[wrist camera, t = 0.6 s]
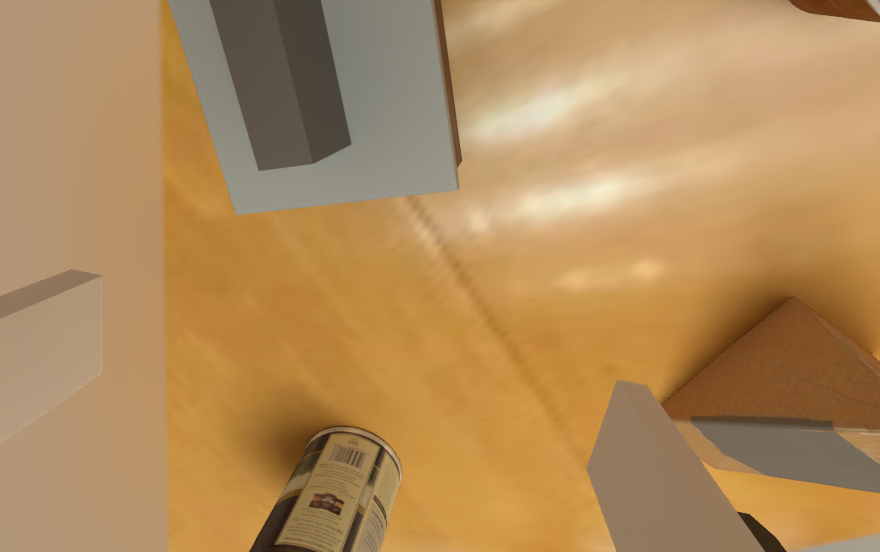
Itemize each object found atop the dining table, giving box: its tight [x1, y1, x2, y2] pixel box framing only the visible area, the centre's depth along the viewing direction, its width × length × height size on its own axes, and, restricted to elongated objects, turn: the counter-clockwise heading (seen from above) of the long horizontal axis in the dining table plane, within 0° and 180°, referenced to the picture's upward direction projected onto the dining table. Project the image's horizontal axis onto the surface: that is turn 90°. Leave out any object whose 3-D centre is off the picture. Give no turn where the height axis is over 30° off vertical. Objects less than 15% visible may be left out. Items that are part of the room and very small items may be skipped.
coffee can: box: [249, 427, 402, 552], centre depth 44 cm, size 10×10×14 cm
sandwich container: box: [662, 297, 880, 493], centre depth 34 cm, size 9×15×15 cm, turn 146°
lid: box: [168, 0, 459, 215], centre depth 27 cm, size 15×15×7 cm
